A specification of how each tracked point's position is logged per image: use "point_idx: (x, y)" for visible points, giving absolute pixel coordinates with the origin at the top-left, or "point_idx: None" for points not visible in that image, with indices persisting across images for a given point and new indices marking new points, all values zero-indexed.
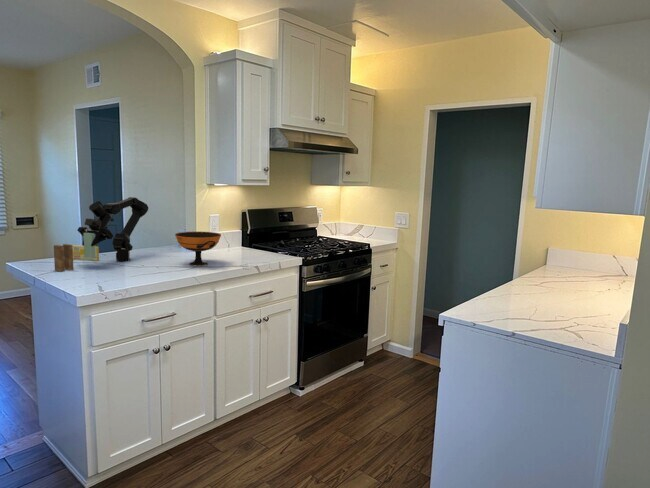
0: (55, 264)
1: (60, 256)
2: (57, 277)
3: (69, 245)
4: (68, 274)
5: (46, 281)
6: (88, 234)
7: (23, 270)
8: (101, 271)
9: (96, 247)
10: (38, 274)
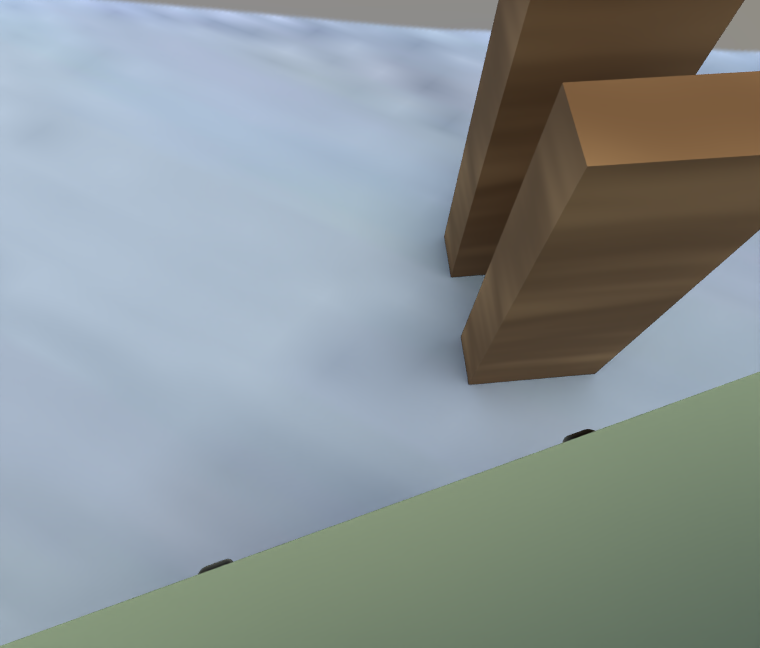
0: None
1: (476, 106)
2: (196, 110)
3: (566, 104)
4: (245, 228)
5: (122, 5)
6: (385, 522)
7: (717, 55)
8: (79, 603)
9: None
10: (449, 65)
